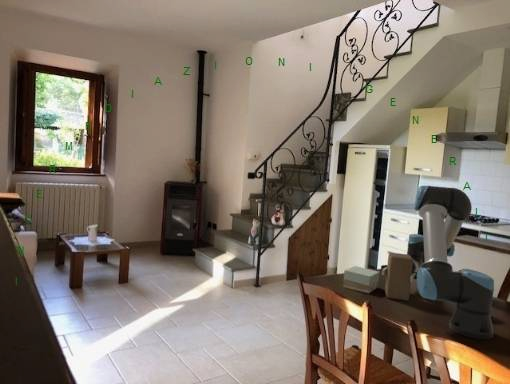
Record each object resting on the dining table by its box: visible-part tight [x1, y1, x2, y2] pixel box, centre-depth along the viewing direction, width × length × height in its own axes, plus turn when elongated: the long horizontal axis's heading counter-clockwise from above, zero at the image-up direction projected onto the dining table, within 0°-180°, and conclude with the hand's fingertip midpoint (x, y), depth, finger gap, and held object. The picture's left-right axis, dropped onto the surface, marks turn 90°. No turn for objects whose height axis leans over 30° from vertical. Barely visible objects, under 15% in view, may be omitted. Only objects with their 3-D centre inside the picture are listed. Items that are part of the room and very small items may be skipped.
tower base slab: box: [342, 278, 379, 294], centre depth 207 cm, size 13×13×4 cm
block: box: [384, 252, 413, 302], centre depth 195 cm, size 10×10×20 cm
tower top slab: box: [343, 265, 381, 286], centre depth 206 cm, size 13×13×4 cm
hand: (396, 275), depth 192 cm, fingers closed on block, 12 cm apart
